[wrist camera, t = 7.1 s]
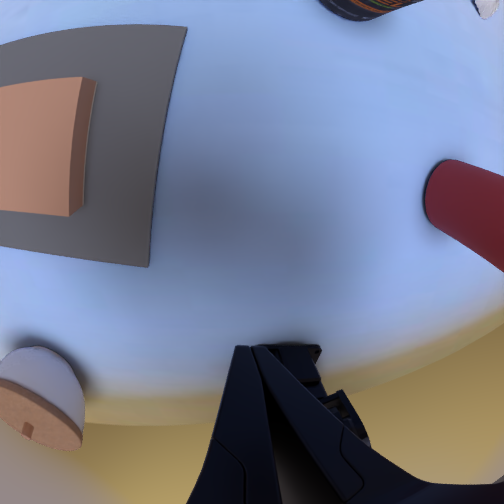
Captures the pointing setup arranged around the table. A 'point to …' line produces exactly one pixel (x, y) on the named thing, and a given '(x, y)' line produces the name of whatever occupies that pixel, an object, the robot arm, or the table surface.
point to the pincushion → (487, 7)
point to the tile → (44, 144)
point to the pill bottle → (365, 7)
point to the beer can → (469, 207)
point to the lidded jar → (42, 398)
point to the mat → (102, 136)
